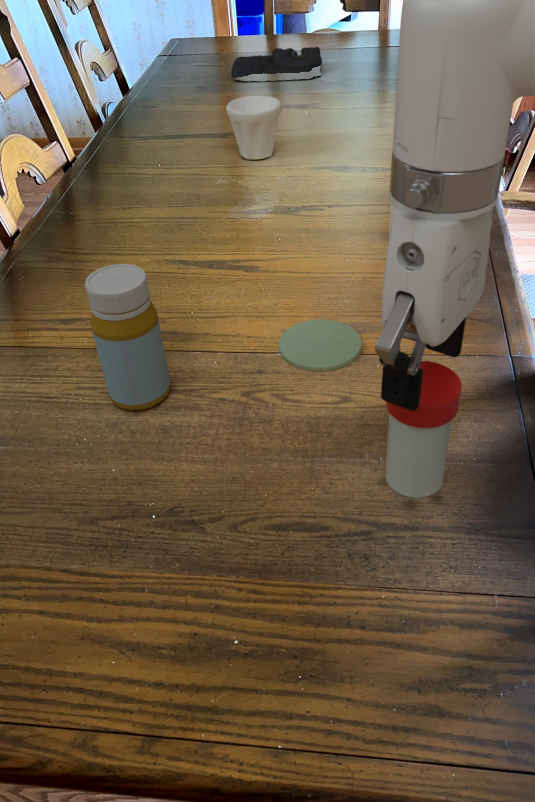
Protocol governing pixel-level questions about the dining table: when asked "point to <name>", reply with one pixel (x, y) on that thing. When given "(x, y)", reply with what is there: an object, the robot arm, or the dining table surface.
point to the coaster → (320, 345)
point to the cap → (432, 398)
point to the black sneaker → (278, 62)
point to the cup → (254, 124)
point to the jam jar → (416, 458)
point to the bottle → (127, 337)
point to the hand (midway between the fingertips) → (421, 375)
